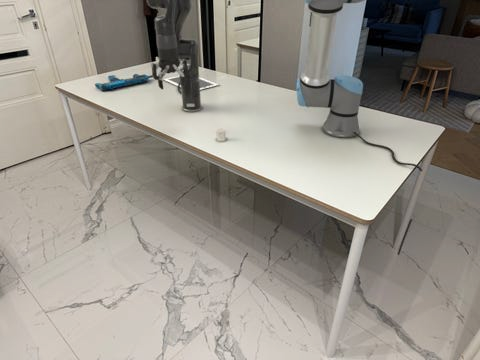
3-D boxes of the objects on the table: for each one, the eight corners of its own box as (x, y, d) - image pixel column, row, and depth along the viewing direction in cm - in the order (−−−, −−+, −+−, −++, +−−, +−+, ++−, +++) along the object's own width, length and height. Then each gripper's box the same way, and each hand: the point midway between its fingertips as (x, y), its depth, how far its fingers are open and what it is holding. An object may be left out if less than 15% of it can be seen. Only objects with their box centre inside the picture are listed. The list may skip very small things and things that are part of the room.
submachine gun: (139, 68, 225) (158, 74, 208) (140, 74, 226) (158, 80, 210) (87, 78, 206) (103, 86, 189) (89, 84, 208) (104, 92, 191)
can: (223, 142, 141) (223, 132, 139) (215, 140, 142) (215, 131, 140) (227, 138, 144) (226, 129, 142) (218, 137, 145) (218, 128, 143)
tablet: (162, 79, 213) (162, 79, 213) (189, 73, 224) (189, 73, 224) (191, 92, 193) (191, 91, 192) (219, 85, 204) (219, 84, 203)
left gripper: (151, 50, 125) (157, 92, 134) (188, 46, 130) (191, 87, 139) (146, 46, 131) (152, 87, 140) (181, 42, 136) (185, 82, 145)
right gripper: (305, -25, 160) (301, 24, 172) (325, -22, 139) (318, 33, 151) (320, -25, 161) (315, 24, 173) (342, -22, 140) (334, 33, 152)
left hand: (172, 87), depth 139 cm, fingers open, 8 cm apart
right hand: (316, 28), depth 162 cm, fingers open, 13 cm apart
